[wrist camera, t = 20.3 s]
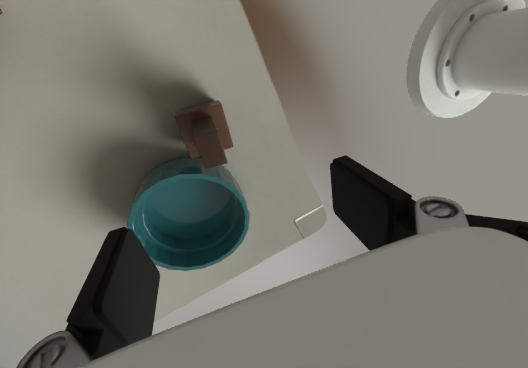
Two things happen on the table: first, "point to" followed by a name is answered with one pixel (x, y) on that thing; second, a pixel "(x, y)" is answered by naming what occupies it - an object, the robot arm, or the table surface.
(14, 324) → the table surface
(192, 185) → the bowl
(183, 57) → the table surface
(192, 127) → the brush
